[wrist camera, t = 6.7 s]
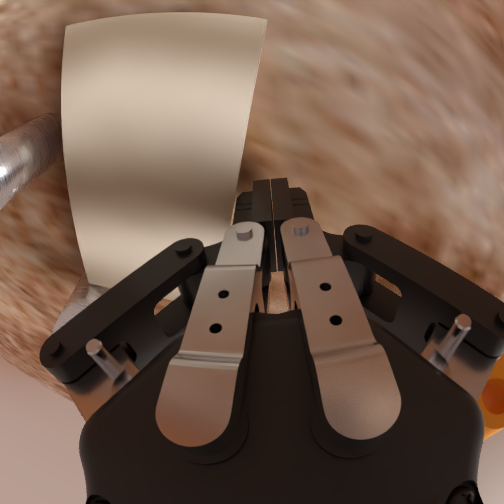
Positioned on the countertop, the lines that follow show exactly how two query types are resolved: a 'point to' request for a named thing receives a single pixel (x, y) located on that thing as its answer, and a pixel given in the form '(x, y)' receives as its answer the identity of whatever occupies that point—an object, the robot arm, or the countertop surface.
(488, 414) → the bracket
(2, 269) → the countertop surface
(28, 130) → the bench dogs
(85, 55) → the cream curved panel
